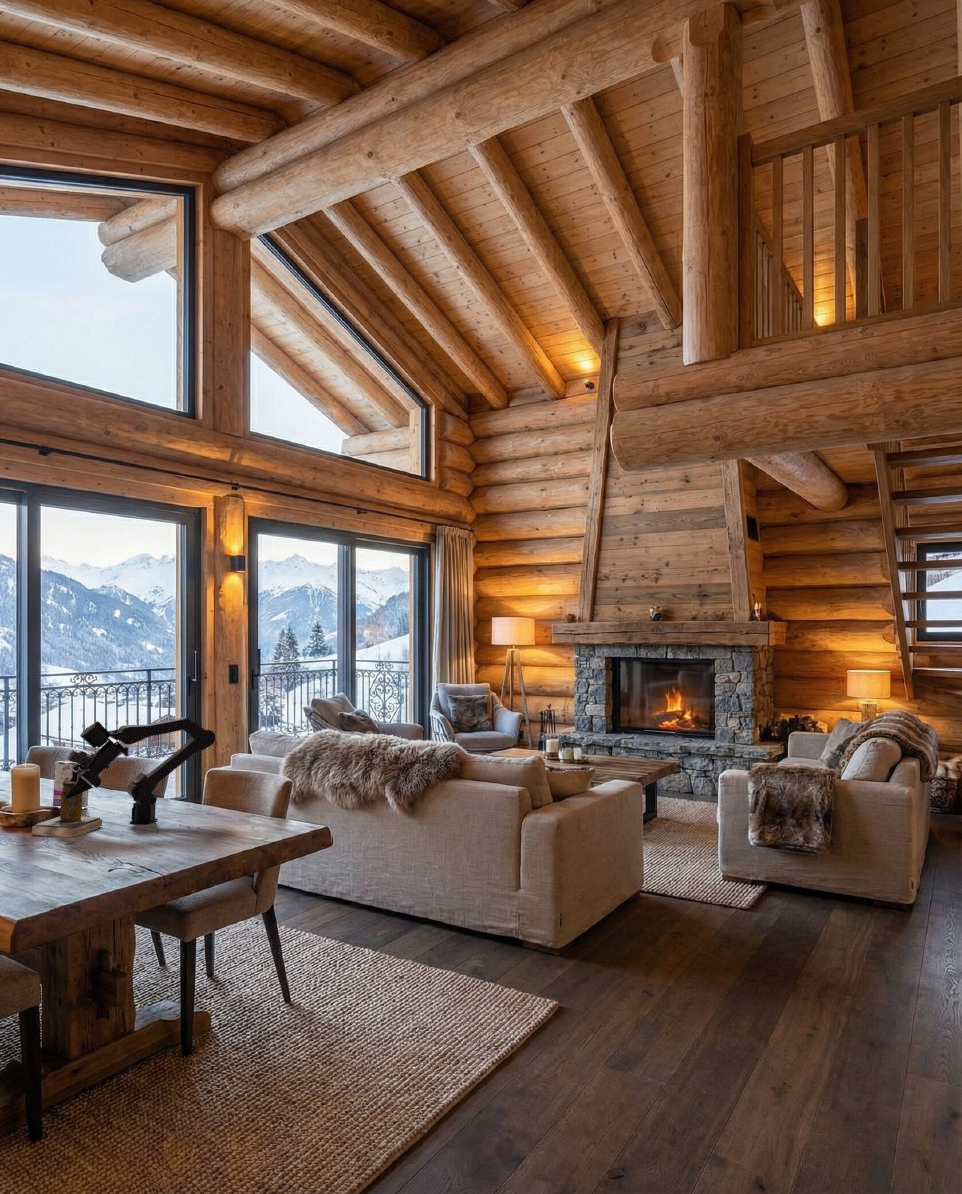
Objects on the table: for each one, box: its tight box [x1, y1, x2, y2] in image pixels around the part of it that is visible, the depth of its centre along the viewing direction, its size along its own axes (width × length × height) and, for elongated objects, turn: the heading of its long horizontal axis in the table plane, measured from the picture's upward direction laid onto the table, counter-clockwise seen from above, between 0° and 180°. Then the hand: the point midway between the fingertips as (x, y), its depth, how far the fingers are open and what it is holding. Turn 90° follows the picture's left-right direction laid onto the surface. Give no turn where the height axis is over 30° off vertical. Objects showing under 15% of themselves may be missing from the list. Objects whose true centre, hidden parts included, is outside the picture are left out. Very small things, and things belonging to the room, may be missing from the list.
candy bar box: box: [52, 760, 89, 807], centre depth 287 cm, size 11×5×16 cm, turn 73°
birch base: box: [31, 816, 103, 838], centre depth 255 cm, size 14×14×3 cm
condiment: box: [53, 781, 85, 824], centre depth 255 cm, size 7×8×12 cm
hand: (64, 795), depth 255 cm, fingers open, 6 cm apart
